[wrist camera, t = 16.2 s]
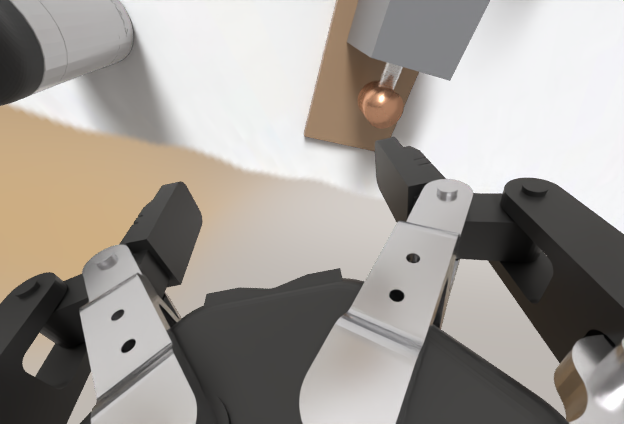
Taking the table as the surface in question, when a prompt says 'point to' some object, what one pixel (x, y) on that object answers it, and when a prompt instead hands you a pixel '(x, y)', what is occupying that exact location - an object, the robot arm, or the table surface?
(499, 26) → the table surface
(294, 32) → the table surface
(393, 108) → the plunger
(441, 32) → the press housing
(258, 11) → the table surface
